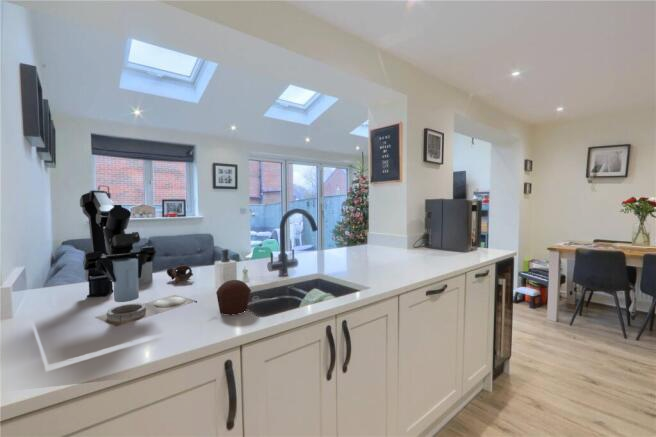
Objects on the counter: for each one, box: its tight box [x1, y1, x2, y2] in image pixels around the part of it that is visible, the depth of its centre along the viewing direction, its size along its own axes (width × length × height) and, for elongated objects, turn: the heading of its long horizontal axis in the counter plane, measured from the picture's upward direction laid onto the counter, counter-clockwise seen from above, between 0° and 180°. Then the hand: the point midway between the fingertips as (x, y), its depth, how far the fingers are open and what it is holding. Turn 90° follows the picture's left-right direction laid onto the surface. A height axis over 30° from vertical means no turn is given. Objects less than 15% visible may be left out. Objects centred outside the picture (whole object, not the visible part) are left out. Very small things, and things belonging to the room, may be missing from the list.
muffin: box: [215, 279, 252, 316], centre depth 102 cm, size 12×11×10 cm
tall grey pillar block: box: [138, 261, 154, 285], centre depth 137 cm, size 10×10×12 cm
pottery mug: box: [166, 264, 194, 285], centre depth 138 cm, size 12×10×8 cm
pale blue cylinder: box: [113, 259, 140, 303], centre depth 93 cm, size 9×6×12 cm
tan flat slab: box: [94, 294, 198, 327], centre depth 100 cm, size 26×13×3 cm, turn 150°
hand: (127, 279), depth 93 cm, fingers closed on pale blue cylinder, 6 cm apart
